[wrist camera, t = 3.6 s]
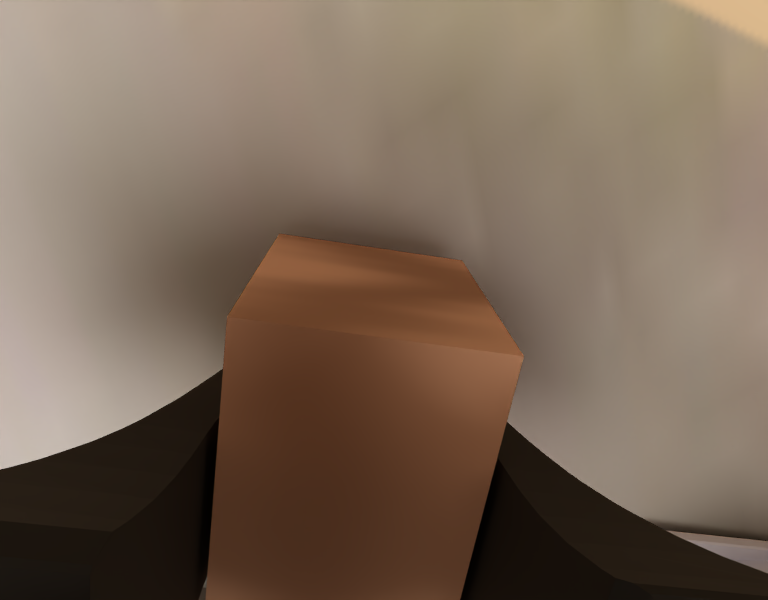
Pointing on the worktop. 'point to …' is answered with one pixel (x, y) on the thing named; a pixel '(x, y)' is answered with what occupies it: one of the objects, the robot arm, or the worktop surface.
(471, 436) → the terracotta bar
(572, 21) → the worktop surface
